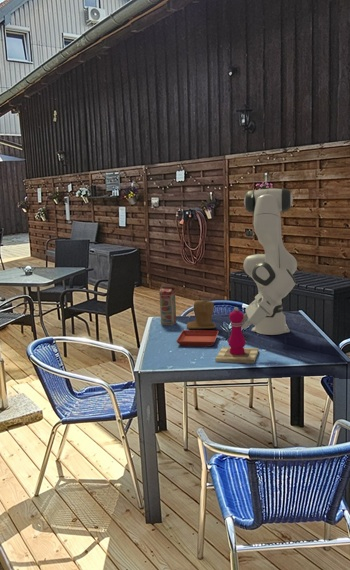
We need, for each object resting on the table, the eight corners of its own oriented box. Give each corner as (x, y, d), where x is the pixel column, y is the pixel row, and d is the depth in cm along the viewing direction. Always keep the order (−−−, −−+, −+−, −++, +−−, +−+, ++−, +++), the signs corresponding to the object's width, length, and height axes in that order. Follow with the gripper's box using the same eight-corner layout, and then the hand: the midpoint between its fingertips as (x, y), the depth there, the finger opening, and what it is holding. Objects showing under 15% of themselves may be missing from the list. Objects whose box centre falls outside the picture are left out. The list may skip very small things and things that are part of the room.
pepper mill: (234, 349, 224) (233, 304, 220) (248, 351, 219) (248, 306, 216) (225, 353, 218) (224, 307, 215) (239, 356, 214) (239, 309, 210)
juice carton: (164, 321, 284) (163, 283, 280) (176, 322, 282) (174, 283, 278) (160, 324, 278) (159, 285, 274) (172, 325, 276) (170, 285, 272)
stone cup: (215, 325, 273) (214, 297, 271) (216, 330, 262) (215, 302, 259) (187, 325, 274) (186, 298, 272) (186, 331, 262) (185, 303, 260)
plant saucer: (215, 348, 234) (214, 341, 233) (176, 347, 237) (176, 340, 237) (219, 337, 251) (218, 330, 251) (182, 336, 255) (182, 330, 254)
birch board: (222, 350, 229) (222, 346, 229) (258, 351, 224) (258, 348, 224) (215, 361, 214) (215, 357, 213) (253, 363, 209) (253, 359, 209)
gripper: (256, 292, 224) (234, 314, 227) (262, 301, 204) (238, 326, 206) (267, 301, 225) (245, 323, 227) (273, 312, 205) (249, 336, 207)
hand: (241, 325), depth 217 cm, fingers open, 8 cm apart
